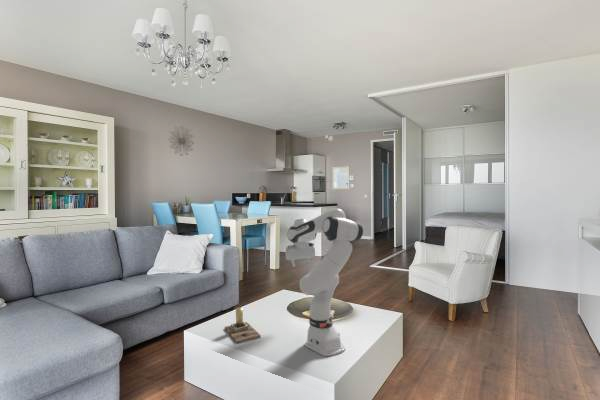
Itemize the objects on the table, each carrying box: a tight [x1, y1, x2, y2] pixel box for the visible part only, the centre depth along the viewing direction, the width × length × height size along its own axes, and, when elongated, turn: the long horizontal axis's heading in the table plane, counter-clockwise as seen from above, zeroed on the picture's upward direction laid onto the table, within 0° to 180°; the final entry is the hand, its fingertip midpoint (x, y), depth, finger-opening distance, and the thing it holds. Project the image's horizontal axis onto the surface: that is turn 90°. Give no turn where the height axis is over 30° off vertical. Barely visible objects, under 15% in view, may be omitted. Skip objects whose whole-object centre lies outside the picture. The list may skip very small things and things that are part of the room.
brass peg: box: [235, 306, 244, 328], centre depth 200 cm, size 4×4×12 cm
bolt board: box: [224, 321, 261, 344], centre depth 197 cm, size 22×14×3 cm, turn 30°
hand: (300, 265), depth 217 cm, fingers open, 8 cm apart
